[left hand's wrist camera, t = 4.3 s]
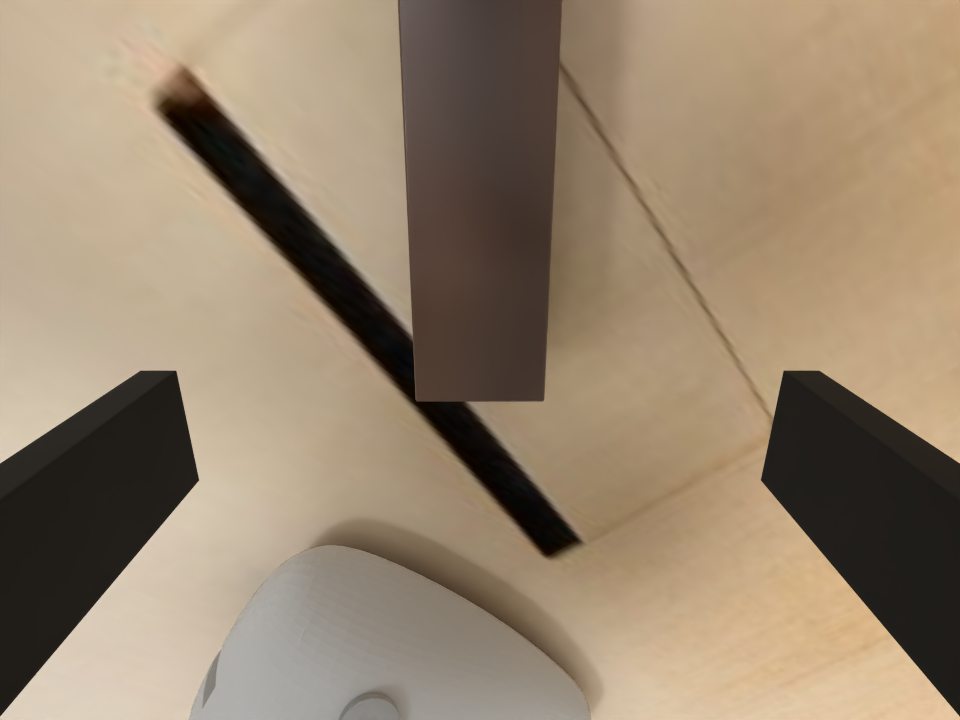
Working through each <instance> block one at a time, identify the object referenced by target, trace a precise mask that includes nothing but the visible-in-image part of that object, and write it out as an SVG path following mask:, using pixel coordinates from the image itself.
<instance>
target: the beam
mask: <svg viewBox="0 0 960 720" xmlns="http://www.w3.org/2000/svg"><path fill="white" fill-rule="evenodd" d="M398 14H399V36H400V58H401V80H402V103H403V125H404V147H405V170H406V192H407V214H408V236H409V259H410V281H411V303H412V325H413V348H414V370H415V392H416V401H544V392H545V370H546V348H547V325H548V303H549V281H550V259H551V236H552V214H553V192H554V170H555V147H556V125H557V103H558V80H559V58H560V36H561V14H562V0H398Z"/></svg>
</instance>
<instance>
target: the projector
mask: <svg viewBox="0 0 960 720" xmlns="http://www.w3.org/2000/svg"><path fill="white" fill-rule="evenodd" d="M189 720H591V716H590V711H589V706H588V703H587V700H586V698H585V695H584V694H583V692H582V690H581V689H580V688H579V686H578V685H577V684H576V683H575V682H574V681H573V679H572V678H571V677H570V676H569V675H568V674H567V673H565V672H564V671H563V670H562V669H561V668H560V667H559V666H558V665H557V664H556V663H555V662H554V661H552V660H551V659H550V658H549V657H548V656H547V655H546V654H544V653H543V652H542V651H541V650H539V649H538V648H537V647H536V646H534V645H533V644H532V643H531V642H529V641H528V640H527V639H526V638H524V637H523V636H522V635H520V634H519V633H517V632H516V631H515V630H513V629H512V628H510V627H509V626H508V625H506V624H505V623H503V622H502V621H500V620H499V619H497V618H496V617H494V616H493V615H491V614H490V613H488V612H486V611H485V610H483V609H481V608H480V607H478V606H477V605H475V604H473V603H472V602H470V601H468V600H467V599H465V598H463V597H461V596H460V595H458V594H456V593H454V592H452V591H451V590H449V589H447V588H445V587H443V586H441V585H439V584H438V583H436V582H434V581H432V580H430V579H428V578H426V577H424V576H422V575H420V574H418V573H416V572H413V571H411V570H409V569H407V568H405V567H403V566H401V565H399V564H396V563H394V562H391V561H389V560H387V559H384V558H382V557H379V556H377V555H374V554H371V553H368V552H365V551H362V550H359V549H354V548H350V547H346V546H338V545H324V546H318V547H314V548H311V549H308V550H305V551H303V552H301V553H299V554H297V555H295V556H293V557H291V558H290V559H288V560H287V561H285V562H284V563H283V564H281V565H280V566H279V567H278V568H277V569H276V570H275V571H274V572H273V573H272V574H271V575H270V576H269V578H268V579H267V580H266V581H265V582H264V583H263V585H262V586H261V587H260V588H259V589H258V590H257V592H256V593H255V594H254V596H253V597H252V599H251V600H250V601H249V603H248V604H247V606H246V607H245V609H244V610H243V612H242V613H241V615H240V616H239V618H238V619H237V621H236V623H235V624H234V626H233V628H232V629H231V631H230V633H229V634H228V636H227V638H226V640H225V642H224V644H223V647H222V649H221V650H220V652H219V653H218V654H217V656H216V657H215V659H214V661H213V663H212V664H211V666H210V668H209V670H208V672H207V674H206V676H205V678H204V680H203V682H202V684H201V686H200V689H199V691H198V693H197V696H196V699H195V701H194V704H193V707H192V710H191V713H190V717H189Z"/></svg>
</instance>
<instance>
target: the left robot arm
mask: <svg viewBox="0 0 960 720" xmlns="http://www.w3.org/2000/svg"><path fill="white" fill-rule="evenodd" d="M198 481H199V478H198V473H197V468H196V463H195V459H194V454H193V449H192V444H191V439H190V435H189V430H188V425H187V420H186V415H185V411H184V406H183V401H182V396H181V391H180V387H179V382H178V377H177V372H176V371H140V372H138V373H137V374H135V375H134V376H132V377H131V378H129V379H128V380H126V381H125V382H123V383H122V384H120V385H118V386H117V387H115V388H114V389H112V390H111V391H109V392H108V393H106V394H105V395H103V396H102V397H100V398H99V399H97V400H96V401H94V402H93V403H91V404H90V405H88V406H87V407H85V408H84V409H82V410H81V411H79V412H78V413H76V414H75V415H73V416H72V417H70V418H69V419H67V420H65V421H64V422H62V423H61V424H59V425H58V426H56V427H55V428H53V429H52V430H50V431H49V432H47V433H46V434H44V435H43V436H41V437H40V438H38V439H37V440H35V441H34V442H32V443H31V444H29V445H28V446H26V447H25V448H23V449H22V450H20V451H19V452H17V453H16V454H14V455H13V456H11V457H9V458H8V459H6V460H5V461H3V462H2V463H0V716H1V715H2V714H3V712H4V711H5V710H6V709H7V708H8V706H9V705H10V704H11V703H12V702H13V701H14V699H15V698H16V697H17V696H18V695H19V693H20V692H21V691H22V690H23V689H24V687H25V686H26V685H27V684H28V683H29V682H30V680H31V679H32V678H33V677H34V676H35V674H36V673H37V672H38V671H39V670H40V668H41V667H42V666H43V665H44V664H45V663H46V661H47V660H48V659H49V658H50V657H51V655H52V654H53V653H54V652H55V651H56V649H57V648H58V647H59V646H60V645H61V644H62V642H63V641H64V640H65V639H66V638H67V636H68V635H69V634H70V633H71V632H72V630H73V629H74V628H75V627H76V626H77V625H78V623H79V622H80V621H81V620H82V619H83V617H84V616H85V615H86V614H87V613H88V611H89V610H90V609H91V608H92V607H93V606H94V604H95V603H96V602H97V601H98V600H99V598H100V597H101V596H102V595H103V594H104V593H105V591H106V590H107V589H108V588H109V587H110V585H111V584H112V583H113V582H114V581H115V579H116V578H117V577H118V576H119V575H120V574H121V572H122V571H123V570H124V569H125V568H126V566H127V565H128V564H129V563H130V562H131V560H132V559H133V558H134V557H135V556H136V555H137V553H138V552H139V551H140V550H141V549H142V547H143V546H144V545H145V544H146V543H147V541H148V540H149V539H150V538H151V537H152V536H153V534H154V533H155V532H156V531H157V530H158V528H159V527H160V526H161V525H162V524H163V522H164V521H165V520H166V519H167V518H168V517H169V515H170V514H171V513H172V512H173V511H174V509H175V508H176V507H177V506H178V505H179V503H180V502H181V501H182V500H183V499H184V498H185V496H186V495H187V494H188V493H189V492H190V490H191V489H192V488H193V487H194V486H195V484H196V483H197V482H198ZM761 481H762V482H763V483H764V484H765V486H766V487H767V488H768V489H769V490H770V492H771V493H772V494H773V495H774V496H775V498H776V499H777V500H778V501H779V502H780V503H781V505H782V506H783V507H784V508H785V509H786V511H787V512H788V513H789V514H790V515H791V517H792V518H793V519H794V520H795V521H796V522H797V524H798V525H799V526H800V527H801V528H802V530H803V531H804V532H805V533H806V534H807V536H808V537H809V538H810V539H811V540H812V541H813V543H814V544H815V545H816V546H817V547H818V549H819V550H820V551H821V552H822V553H823V555H824V556H825V557H826V558H827V559H828V560H829V562H830V563H831V564H832V565H833V566H834V568H835V569H836V570H837V571H838V572H839V574H840V575H841V576H842V577H843V578H844V579H845V581H846V582H847V583H848V584H849V585H850V587H851V588H852V589H853V590H854V591H855V593H856V594H857V595H858V596H859V597H860V598H861V600H862V601H863V602H864V603H865V604H866V606H867V607H868V608H869V609H870V610H871V611H872V613H873V614H874V615H875V616H876V617H877V619H878V620H879V621H880V622H881V623H882V625H883V626H884V627H885V628H886V629H887V630H888V632H889V633H890V634H891V635H892V636H893V638H894V639H895V640H896V641H897V642H898V644H899V645H900V646H901V647H902V648H903V649H904V651H905V652H906V653H907V654H908V655H909V657H910V658H911V659H912V660H913V661H914V663H915V664H916V665H917V666H918V667H919V668H920V670H921V671H922V672H923V673H924V674H925V676H926V677H927V678H928V679H929V680H930V682H931V683H932V684H933V685H934V686H935V687H936V689H937V690H938V691H939V692H940V693H941V695H942V696H943V697H944V698H945V699H946V701H947V702H948V703H949V704H950V705H951V706H952V708H953V709H954V710H955V711H956V712H957V714H958V715H959V716H960V463H958V462H957V461H955V460H954V459H952V458H951V457H949V456H947V455H946V454H944V453H943V452H941V451H940V450H938V449H937V448H935V447H934V446H932V445H931V444H929V443H928V442H926V441H925V440H923V439H922V438H920V437H919V436H917V435H916V434H914V433H913V432H911V431H910V430H908V429H907V428H905V427H904V426H902V425H901V424H899V423H898V422H896V421H894V420H893V419H891V418H890V417H888V416H887V415H885V414H884V413H882V412H881V411H879V410H878V409H876V408H875V407H873V406H872V405H870V404H869V403H867V402H866V401H864V400H863V399H861V398H860V397H858V396H857V395H855V394H854V393H852V392H851V391H849V390H848V389H846V388H845V387H843V386H842V385H840V384H838V383H837V382H835V381H834V380H832V379H831V378H829V377H828V376H826V375H825V374H823V373H822V372H820V371H784V372H783V377H782V382H781V387H780V391H779V396H778V401H777V406H776V411H775V415H774V420H773V425H772V430H771V435H770V439H769V444H768V449H767V454H766V459H765V463H764V468H763V473H762V478H761Z"/></svg>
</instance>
